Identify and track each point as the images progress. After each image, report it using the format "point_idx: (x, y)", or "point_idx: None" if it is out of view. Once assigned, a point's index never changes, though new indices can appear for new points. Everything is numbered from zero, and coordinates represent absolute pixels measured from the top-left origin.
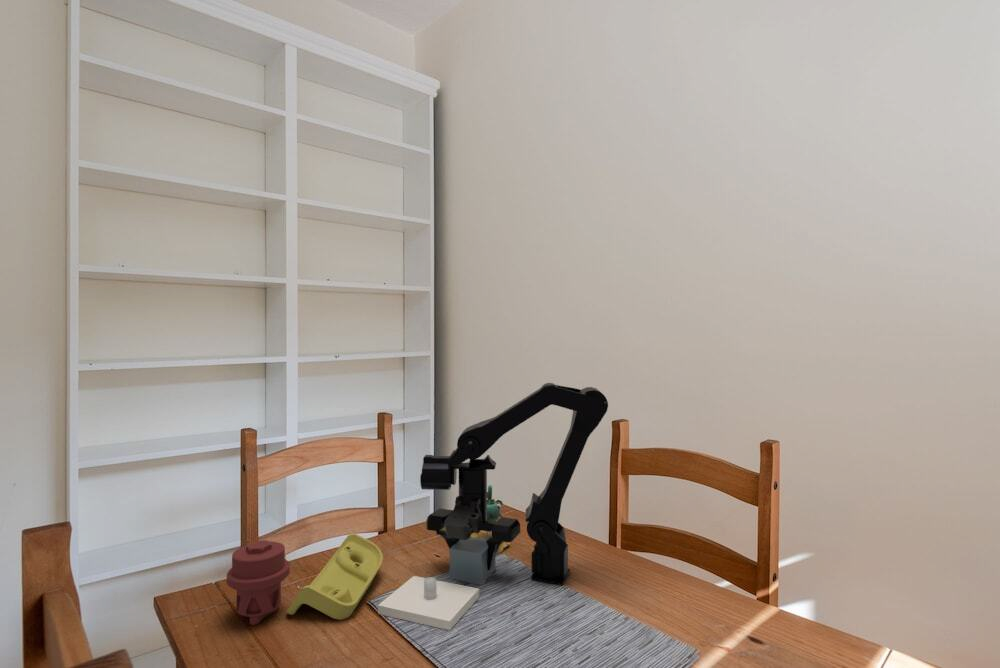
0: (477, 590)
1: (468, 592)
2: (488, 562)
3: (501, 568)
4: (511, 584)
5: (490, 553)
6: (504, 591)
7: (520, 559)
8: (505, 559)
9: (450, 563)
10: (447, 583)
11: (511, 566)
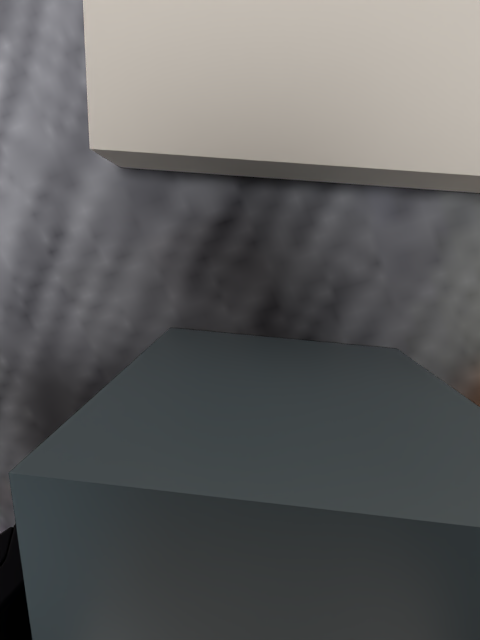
0: (89, 111)
1: (142, 39)
2: None
3: None
4: (16, 377)
5: (9, 558)
6: (13, 287)
7: None
8: None
9: (458, 397)
10: (380, 148)
11: None
